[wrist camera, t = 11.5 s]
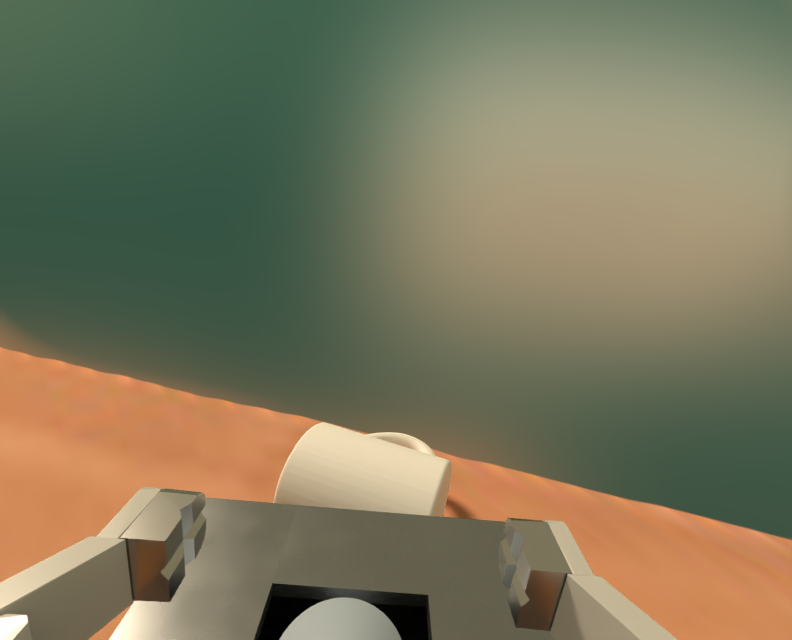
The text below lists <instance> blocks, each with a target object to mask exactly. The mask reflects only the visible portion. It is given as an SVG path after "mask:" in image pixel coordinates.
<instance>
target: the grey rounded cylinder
mask: <svg viewBox="0 0 792 640" xmlns="http://www.w3.org/2000/svg"><path fill="white" fill-rule="evenodd" d="M279 640H401V637H400V635H399V633H398V631H397V629H396V628H395V626H394V625H393V623H392V622H391V621H390V619H389V618H388V617H387V616H386V615H385V614H384V613H383V612H382V611H380V610H379V609H378V608H376V607H375V606H373V605H372V604H369V603H367V602H365V601H362V600H359V599H354V598H343V597H342V598H333V599H329V600H325V601H322V602H320V603H317V604H315V605H313V606H312V607H310V608H308V609H307V610H305V611H304V612H303V613H301V614H300V615H299V616H298V617H297V618H296V619H295V620H294V621H293V622H292V623H291V624H290V625H289V626H288V628H287V629H286V630H285V632H284V633H283V635H282V636H281V638H280V639H279Z"/></svg>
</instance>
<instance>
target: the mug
mask: <svg viewBox="0 0 792 640" xmlns="http://www.w3.org/2000/svg"><path fill="white" fill-rule="evenodd" d="M451 470H452V466H451V462H450V461H449V460H446V459H443V458H440V457H437V456H436V455H435V453H434V452H433V451H432V449H431V448H430V447H429V446H428V445H426V444H425V443H424V442H422V441H420V440H419V439H417V438H415V437H412V436H410V435H407V434H402V433H392V432H387V433H386V432H385V433H374V434H368V435H364V434H361V433H358V432H354V431H351V430H348V429H345V428H341V427H338V426H335V425H331V424H328V423H319V424H316V425H315V426H313V427H312V428H310V429H309V430H308V431H307V432H306V433H305V434H304V435H303V436H302V437H301V439H300V440H299V441H298V443H297V444H296V446H295V447H294V449H293V450H292V452H291V454H290V456H289V458H288V460H287V462H286V464H285V466H284V468H283V471H282V473H281V476H280V479H279V482H278V485H277V488H276V492H275V497H274V502H273V503H279V504H291V505H303V506H316V507H328V508H340V509H352V510H365V511H377V512H389V513H402V514H414V515H426V516H439V517H443V516H444V511H445V507H446V502H447V497H448V491H449V486H450V479H451Z"/></svg>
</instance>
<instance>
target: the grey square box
mask: <svg viewBox="0 0 792 640" xmlns="http://www.w3.org/2000/svg"><path fill="white" fill-rule="evenodd" d="M205 504H206V505H205V507H204V508H203V510H202V511H201V513H202V514H203V516H204V517H205V518H206V533H205V537H204V540H203V543H202V546H201V549H200V551H199V553H198V554H197V556H196V558H195V559H194V560H193V561H192V562H190V563H189V564H187V565H186V566H185V577H184V579H183V581H182V582H181V584H180V586H179V588H178V589H177V591H176V593H175V595H174V596H173V598H172V600H171V601H170V602H155V601H134V603H133V604H132V606H131V607H130V609H129V611H128V612H127V614H126V615H125V617H124V618H123V620H122V621H121V623H120V624H119V626H118V627H117V629H116V630H115V632H114V633H113V635H112V636H111V638H110V639H109V640H279V639H280V638H281V636H282V635H283V633H284V632H285V630H286V629H287V628H288V626H289V625H290V624H291V623H292V622H293V621H294V620H295V619H296V618H297V617H298V616H299V615H300V614H301V613H303V612H304V611H305V610H307V609H308V608H310V607H312V606H313V605H315V604H317V603H320V602H322V601H325V600H329V599H333V598H342V597H343V598H354V599H359V600H362V601H365V602H367V603H369V604H372V605H373V606H375V607H376V608H378V609H379V610H380V611H382V612H383V613H384V614H385V615H386V616H387V617H388V618H389V619H390V621H391V622H392V623H393V625H394V626H395V628H396V629H397V631H398V633H399V635H400V637H401V640H555V639H554V638H553V636H552V635H551V634H550V631H544V630H535V629H525V628H516V627H515V623H514V620H513V617H512V613H511V610H510V607H509V603H508V596H509V592H510V590H509V589H508V588H507V587H506V586H505V585H504V584H503V583H502V579H501V575H500V571H499V564H498V552H499V547H500V542H501V541H503V540H504V539H505V538H506V536H505V533H504V530H503V529H504V525H505V522H500V521H488V520H475V519H463V518H451V517H439V516H426V515H414V514H402V513H389V512H377V511H365V510H352V509H340V508H328V507H316V506H303V505H291V504H279V503H266V502H254V501H242V500H229V499H217V498H205Z"/></svg>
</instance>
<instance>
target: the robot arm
mask: <svg viewBox="0 0 792 640" xmlns="http://www.w3.org/2000/svg"><path fill="white" fill-rule="evenodd" d="M205 505H206V504H205V494H203V493H201V492H192V491H183V490H174V489H160V488H152V487H144V488H142V489H140V490H139V491H138V492H137V493H136V494H135V495H134V496H133V497H132V498H131V499H130V500H129V501H128V502H127V504H126V505H125V506H124V507H123V508H122V509H121V510H120V511H119V512H118V513H117V514H116V515H115V517H114V518H113V519H112V520H111V521H110V522H109V523H108V524H107V525H106V526H105V527H104V528H103V530H102V531H101V532H100V533H99V534H98V535H97V536H96V537H88V538H86V539H84V540H82V541H80V542H78V543H76V544H74V545H72V546H70V547H68V548H66V549H64V550H62V551H60V552H59V553H57V554H55V555H53V556H51V557H49V558H47V559H45V560H43V561H41V562H39V563H37V564H35V565H33V566H32V567H30V568H28V569H26V570H24V571H22V572H20V573H18V574H16V575H14V576H12V577H10V578H8V579H6V580H4V581H3V582H1V583H0V640H88V639H89V638H90V637H92V636H93V635H94V634H95V633H96V632H98V631H99V630H100V629H101V628H103V627H104V626H105V625H106V624H107V623H109V622H110V621H111V620H112V619H114V618H115V617H116V616H117V615H119V614H120V613H121V612H122V611H123V610H125V609H126V608H127V607H128V606H130V605H131V604H132V603H133V601H155V602H170V601H171V600H172V598H173V596H174V595H175V593H176V591H177V589H178V588H179V586H180V584H181V582H182V581H183V579H184V577H185V566H186V565H187V564H189V563H190V562H192V561H193V560H194V559H195V558H196V556H197V554H198V553H199V551H200V549H201V546H202V543H203V540H204V537H205V533H206V518H205V517H204V516H203V514H202V513H201V511H202V510H203V508H204V507H205ZM503 530H504V533H505V536H506V538H505V539H504V540H503V541H501V542H500V547H499V552H498V564H499V571H500V575H501V579H502V583H503V584H504V585H505V586H506V587H507V588H508V589H509V590H510V592H509V596H508V603H509V607H510V610H511V613H512V617H513V620H514V623H515V627H516V628H525V629H535V630H544V631H550V634H551V635H552V636H553V638H554V639H555V640H677V639H676V638H675V637H674V636H672V635H671V634H670V633H669V632H668V631H666V630H665V629H664V628H663V627H661V626H660V625H659V624H658V623H657V622H655V621H654V620H653V619H652V618H650V617H649V616H648V615H647V614H646V613H644V612H643V611H642V610H641V609H639V608H638V607H637V606H636V605H635V604H633V603H632V602H631V601H630V600H628V599H627V598H626V597H625V596H624V595H622V594H621V593H620V592H619V591H618V590H616V589H615V588H614V587H613V586H611V585H610V584H609V583H608V582H607V581H605V580H604V579H603V578H602V577H600V576H595V575H594V574H593V572H592V570H591V568H590V566H589V565H588V563H587V561H586V559H585V558H584V556H583V554H582V552H581V550H580V549H579V547H578V545H577V543H576V541H575V540H574V538H573V536H572V534H571V532H570V531H569V529H568V527H567V525H566V524H565V523H564V522H563V521H548V520H544V521H542V520H531V519H518V518H507V520H506V521H505V525H504V529H503Z"/></svg>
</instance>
